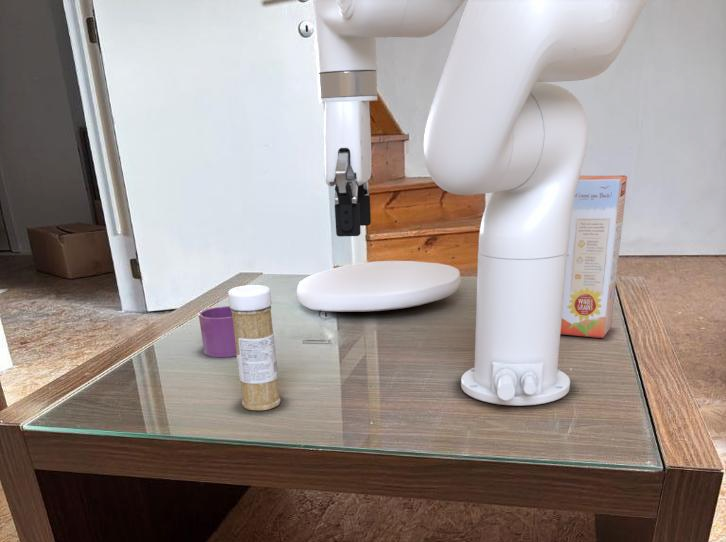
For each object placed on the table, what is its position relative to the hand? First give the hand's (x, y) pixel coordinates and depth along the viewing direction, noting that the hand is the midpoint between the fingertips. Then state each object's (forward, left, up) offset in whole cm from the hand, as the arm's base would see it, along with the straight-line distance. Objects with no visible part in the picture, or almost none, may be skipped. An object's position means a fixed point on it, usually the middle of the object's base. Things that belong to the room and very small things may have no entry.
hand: (354, 230), depth 101 cm
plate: (+21, 0, -15) cm, 26 cm away
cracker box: (+4, -29, -15) cm, 33 cm away
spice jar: (-28, +7, -15) cm, 33 cm away
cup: (-7, +18, -15) cm, 24 cm away
